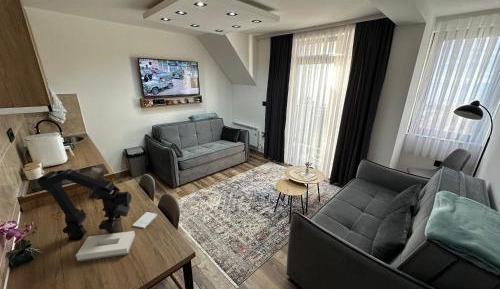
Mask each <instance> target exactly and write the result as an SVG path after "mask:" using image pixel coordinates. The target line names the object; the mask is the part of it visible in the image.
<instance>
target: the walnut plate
mask: <svg viewBox="0 0 500 289" xmlns="http://www.w3.org/2000/svg"><path fill="white" fill-rule="evenodd" d="M106 220H108V218H107V219H106ZM113 220H115V225H114V227H113V233H121V232H126V227H125V224H124V223H125V222H124V218H123V217H120V218H114V219H113ZM106 232H107V231H106ZM107 234H110V233H109V232H107Z"/></svg>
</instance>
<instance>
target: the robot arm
mask: <svg viewBox="0 0 500 289" xmlns="http://www.w3.org/2000/svg"><path fill="white" fill-rule="evenodd" d="M65 180H66V181H69V182H72V183H74V184H77V185H79V186H82V187H85V188H87V189H88V188H90V189H92V190H93V191H94V193H96V194H98V195H99V197H98V198H96V200H97V201H98V200H101V201H102V205H103V206H102V207H103V208H102V212H104V216H103V217H104V218H107V219H108V220H107V219H104V220H102V221H101V222H100V224H99V225H98V229H99V231H102V230H104V231H106V232H109V233H110V234H113V227H114V225H115V220H113V219H115V218H121V217H122V218H123V217H127V216H128V214H129V212H130V209H131V206H130V204H131V202H132V199H133V198H132V194H131V193H130V192H129V191H121V189H119V187H117V186H116V185H115V184H114V183H113V181H110V180H106V179H105V180H106V181H105V180H96V179H93V178H90V177H89V176H88V175H85V174H82V173H79V172H77V171H75V170H74V169H71V168H66V169H61V170H56V171H55V170H51V171H47V172H46V173H45V174H43V175H42V176H40V177H38V179H37V181H36V183H37V184H38V186H39V187H40V188H41V189H42V190H43V191H46V192H49V193H50V194H51V196H52V197H53V199H54V200H55V202H56V203H57V205H58V206H59V208H60V210H61V211H62V213H64V222H65V224H66V226H65V227H63V229H62V231H61V232H63V233H64V234H67V236H68V238H67V242H75V241H81V240H82V239H83V237H85V235H86V233H87V232H88V230H86V229H85V226H84V224H83V223H84V221H85V220H86V219H87V213H85V210H84V209H83V208H82V209H78V208H76V206H75V205H74V203H73V201H72V200H71V198H70V197H69V195H68V194H67V192H66V190H65V189H64V187H63V181H65Z"/></svg>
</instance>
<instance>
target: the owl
mask: <svg viewBox="0 0 500 289" xmlns="http://www.w3.org/2000/svg"><path fill="white" fill-rule="evenodd" d="M88 177H90V178H93V179H96V180H105V181H107V180H106V177H105V172H104V168H103V167H102V168H101V167H99V168H98V167H94V166H93V167H92V166H91V169H90V172H89V176H88ZM98 197H99V195H98V194H96V193H94V191H93V190H92V189H90V188H87V198H88V200H93V199H97V198H98Z"/></svg>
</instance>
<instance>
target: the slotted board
mask: <svg viewBox="0 0 500 289" xmlns="http://www.w3.org/2000/svg"><path fill="white" fill-rule="evenodd" d="M135 238H136V234H135V231H134V230H132V231H131V230H130V231H125V232H121V233H113V234H108V233H107V234H99V235H98V234H97V235H91V236H89V235H88V237H87V238H86V239H85V241H84V243H83V244H82V245H81V247H80V249H79V250H78V251H77V252H76V254H75V257H76V260H77V262H84V261H91V260H97V259H104V258H105V259H106V258H111V257H118V256H119V257H120V256H126V255H129V252H130V250H131V248H132V245H133V243H134V240H135Z"/></svg>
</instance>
